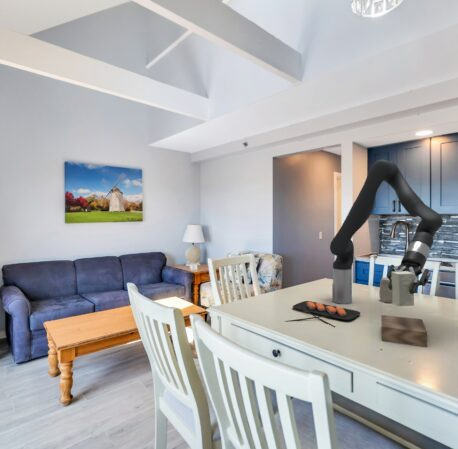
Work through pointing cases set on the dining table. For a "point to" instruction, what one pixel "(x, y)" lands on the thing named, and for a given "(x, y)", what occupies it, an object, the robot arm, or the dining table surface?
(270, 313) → the dining table surface
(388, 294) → the carving
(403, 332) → the block
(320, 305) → the sushi plate
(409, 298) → the skincare box
